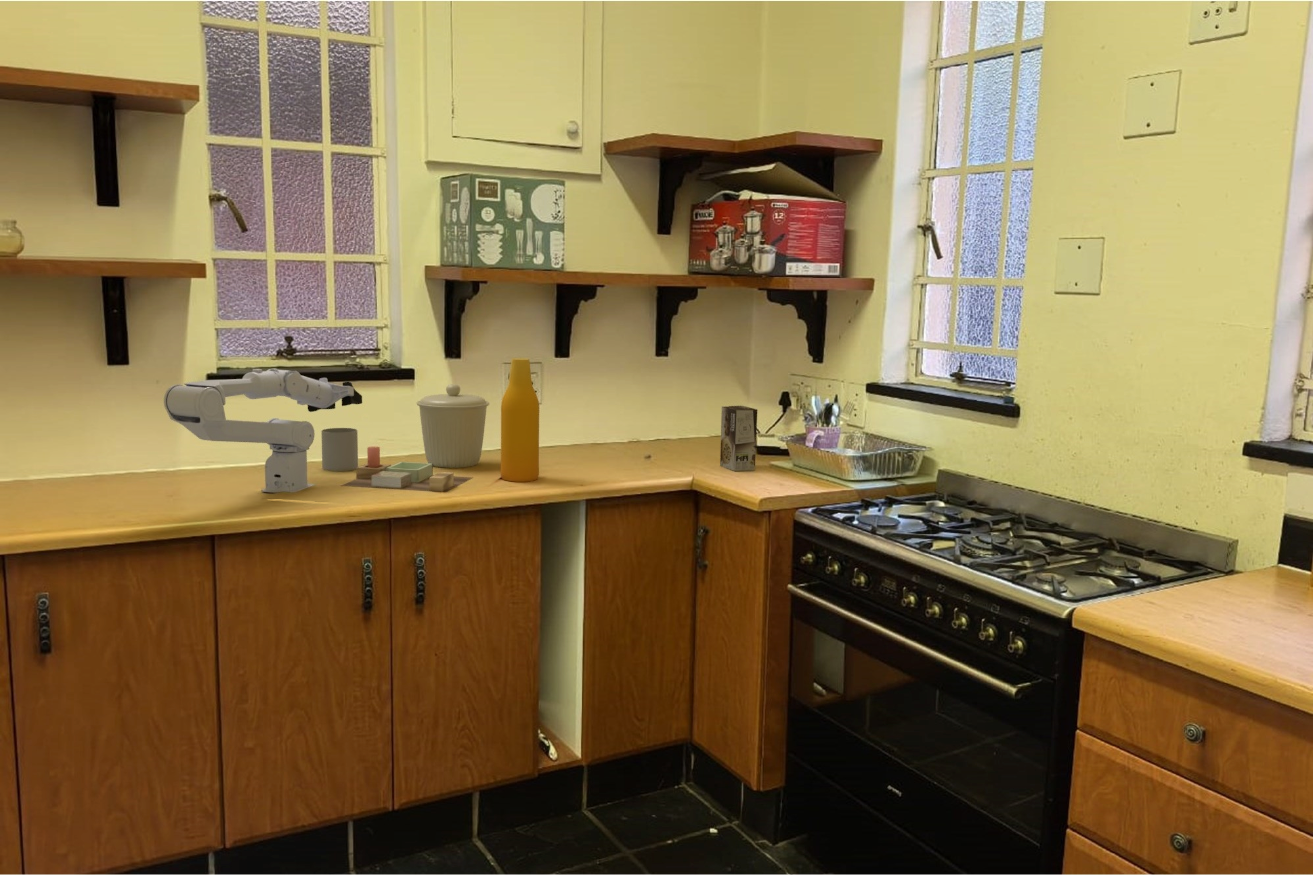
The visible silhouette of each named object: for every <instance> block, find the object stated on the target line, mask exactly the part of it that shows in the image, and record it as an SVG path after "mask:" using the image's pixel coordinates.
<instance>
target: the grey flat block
mask: <svg viewBox="0 0 1313 875" xmlns="http://www.w3.org/2000/svg"><path fill="white" fill-rule="evenodd" d="M409 484H411V473H407V472H391V471H382V472H379V473H377V474H374V475H372V487H387V488H403V487H405V486H407V485H409Z"/></svg>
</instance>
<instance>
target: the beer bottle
mask: <svg viewBox="0 0 1313 875" xmlns="http://www.w3.org/2000/svg"><path fill="white" fill-rule="evenodd" d="M530 362H531V361H530V358H522V357H520V358H516V357H515V358H511V363H510V372H509V380H508V385H507V388H506V390H505V391H504V394H503V396H502V399H501V403H500V413H501V414H500V478H501V479H502V480H503V481H507V482H513V483H514V482H515V483H525V482H526V483H528V482H534V481H536V480H538V479H539V476H540V462H539V461H540V402H539V398H538V395H537V393H536V391H535V389H534V387H533V382H532V372H531V363H530Z"/></svg>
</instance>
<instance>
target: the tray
mask: <svg viewBox="0 0 1313 875" xmlns="http://www.w3.org/2000/svg"><path fill="white" fill-rule="evenodd" d="M385 470H386V471H391V472H407V473H411V482H420V481H422V480H424V479H426V478H429V477H431V476H433V475H434V474H433V473H434V471H433V470H434V466H433V464H431V463H428V462H413V461H412V462H411V461H399V462H397V463H395V464H393V465H391V466H390V467H387V468H385Z"/></svg>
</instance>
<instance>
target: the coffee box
mask: <svg viewBox="0 0 1313 875" xmlns="http://www.w3.org/2000/svg"><path fill="white" fill-rule="evenodd" d="M758 411H759V410H758V409H757V408H753V407H750V406H744V405H728V406H721V418H720V420H721V421H720V422H721V423H720V424H721V425H720V453H719V454H720V457H719V460H720V462H719V466H721V467H723V468H725V469H729V470H730V471H733V472H743V471H747V472H749V471H755V470H756V456H757V451H756V450H757V449H756V448H757V430H758V429H757V427H758Z"/></svg>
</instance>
